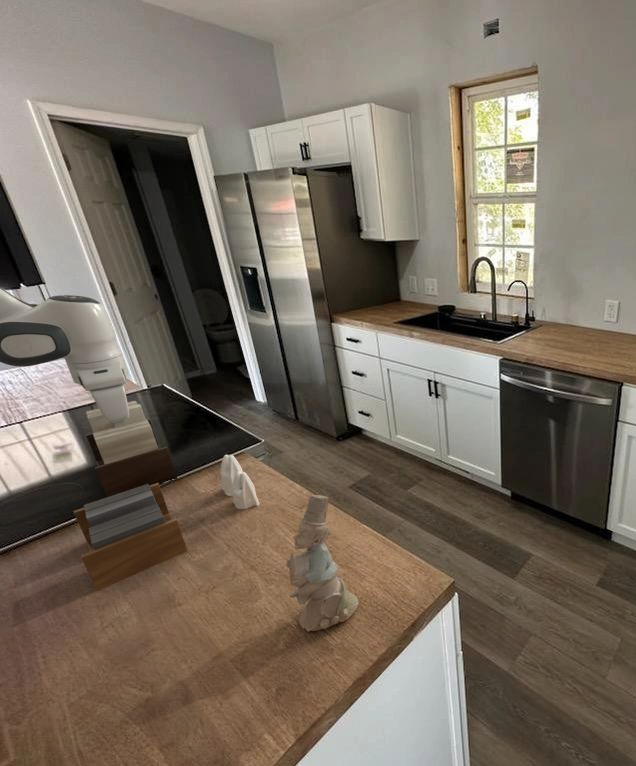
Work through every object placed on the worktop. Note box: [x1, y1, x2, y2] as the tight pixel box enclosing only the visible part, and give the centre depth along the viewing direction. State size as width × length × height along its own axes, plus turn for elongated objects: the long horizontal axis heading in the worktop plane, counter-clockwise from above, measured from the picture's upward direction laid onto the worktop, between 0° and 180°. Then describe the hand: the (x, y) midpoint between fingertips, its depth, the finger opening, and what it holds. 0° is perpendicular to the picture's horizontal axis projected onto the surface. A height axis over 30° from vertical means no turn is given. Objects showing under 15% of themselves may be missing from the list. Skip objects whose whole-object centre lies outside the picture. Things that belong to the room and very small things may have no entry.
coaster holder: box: [73, 483, 188, 592], centre depth 74 cm, size 16×12×10 cm
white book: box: [86, 403, 147, 433], centre depth 96 cm, size 2×9×13 cm, turn 138°
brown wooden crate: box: [85, 400, 178, 498], centre depth 97 cm, size 21×12×14 cm, turn 48°
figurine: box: [285, 494, 359, 632], centre depth 62 cm, size 9×8×20 cm
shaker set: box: [220, 454, 260, 510], centre depth 88 cm, size 12×4×11 cm, turn 49°
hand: (119, 426), depth 95 cm, fingers closed on white book, 2 cm apart
